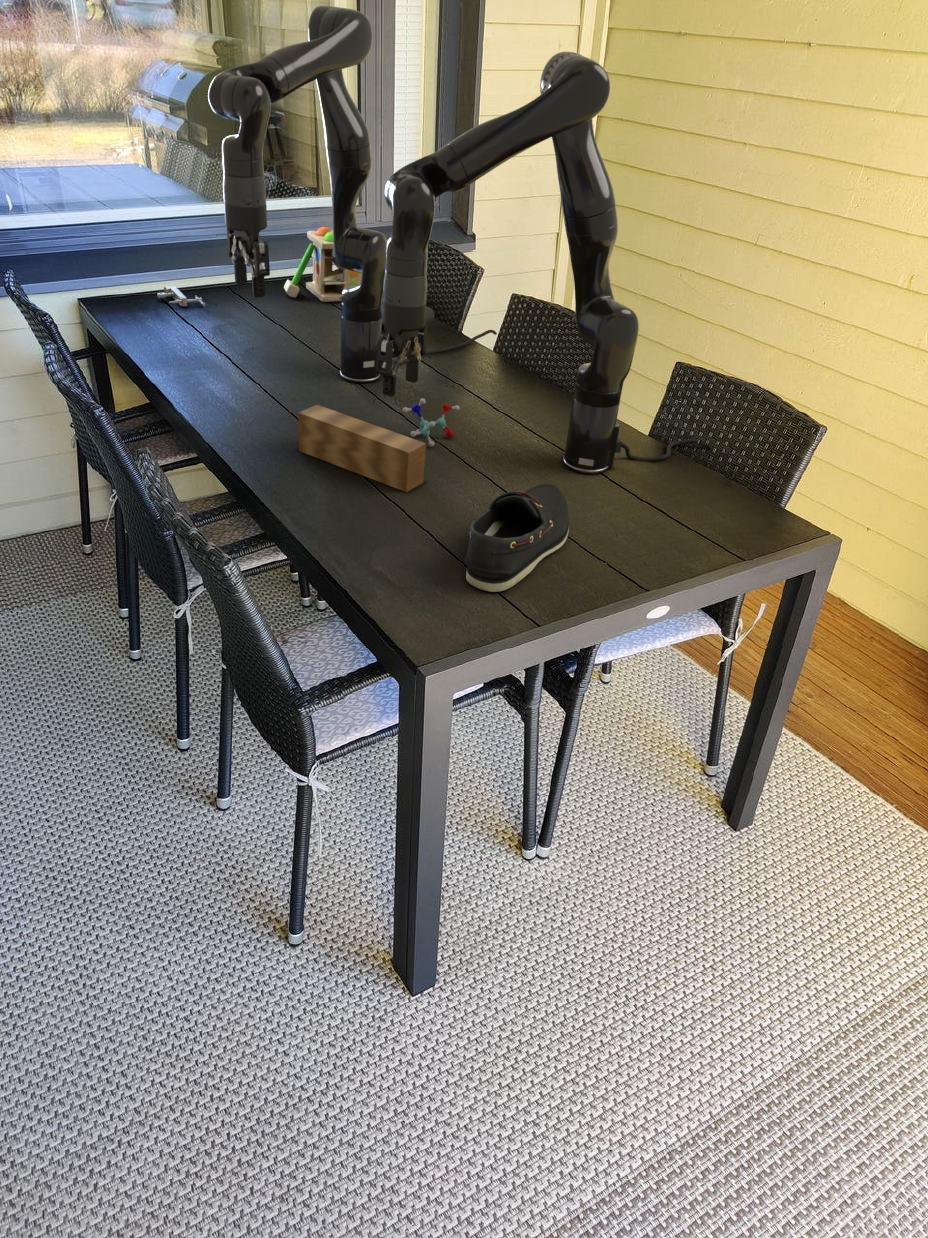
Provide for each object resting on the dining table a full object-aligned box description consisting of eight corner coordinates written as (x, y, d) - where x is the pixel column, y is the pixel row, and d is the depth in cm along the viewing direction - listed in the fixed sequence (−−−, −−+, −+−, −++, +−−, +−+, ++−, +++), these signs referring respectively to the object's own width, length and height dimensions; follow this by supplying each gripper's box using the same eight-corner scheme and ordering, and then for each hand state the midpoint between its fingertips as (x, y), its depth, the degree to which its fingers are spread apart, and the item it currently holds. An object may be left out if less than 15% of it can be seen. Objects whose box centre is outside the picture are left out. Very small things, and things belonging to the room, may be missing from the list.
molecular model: (451, 439, 197) (435, 390, 196) (410, 454, 201) (394, 406, 199) (469, 435, 207) (454, 389, 206) (430, 449, 211) (415, 404, 210)
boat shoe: (593, 526, 180) (600, 474, 174) (502, 598, 156) (507, 541, 151) (532, 507, 186) (537, 456, 180) (435, 574, 162) (438, 517, 156)
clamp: (153, 286, 267) (189, 284, 272) (153, 294, 268) (189, 292, 273) (168, 303, 257) (206, 300, 261) (169, 311, 258) (206, 308, 263)
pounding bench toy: (292, 303, 272) (291, 236, 262) (277, 288, 282) (276, 223, 272) (370, 299, 281) (372, 234, 271) (352, 285, 292) (353, 221, 282)
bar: (298, 450, 195) (298, 412, 191) (317, 442, 199) (317, 404, 195) (406, 492, 184) (408, 452, 180) (423, 482, 189) (426, 443, 184)
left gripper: (280, 208, 175) (283, 299, 184) (249, 189, 184) (253, 277, 193) (240, 210, 171) (246, 303, 180) (210, 191, 180) (217, 281, 190)
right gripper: (404, 312, 162) (399, 405, 171) (442, 293, 173) (436, 381, 182) (364, 303, 164) (362, 395, 174) (405, 284, 175) (401, 372, 184)
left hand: (249, 289), depth 187 cm, fingers open, 8 cm apart
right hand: (400, 388), depth 178 cm, fingers open, 8 cm apart
